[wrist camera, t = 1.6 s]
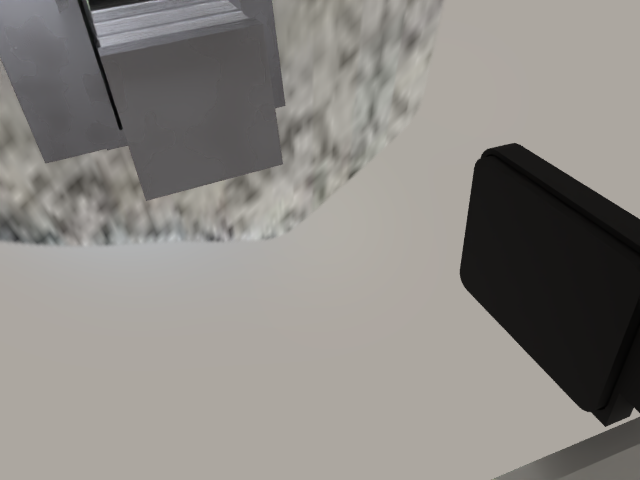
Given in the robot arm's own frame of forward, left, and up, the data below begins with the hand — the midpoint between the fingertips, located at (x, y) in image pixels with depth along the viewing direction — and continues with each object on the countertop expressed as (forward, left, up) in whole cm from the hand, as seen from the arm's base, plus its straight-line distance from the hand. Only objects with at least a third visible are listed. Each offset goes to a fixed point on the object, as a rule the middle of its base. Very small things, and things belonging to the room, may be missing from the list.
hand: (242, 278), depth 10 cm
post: (-1, +2, -28) cm, 28 cm away
